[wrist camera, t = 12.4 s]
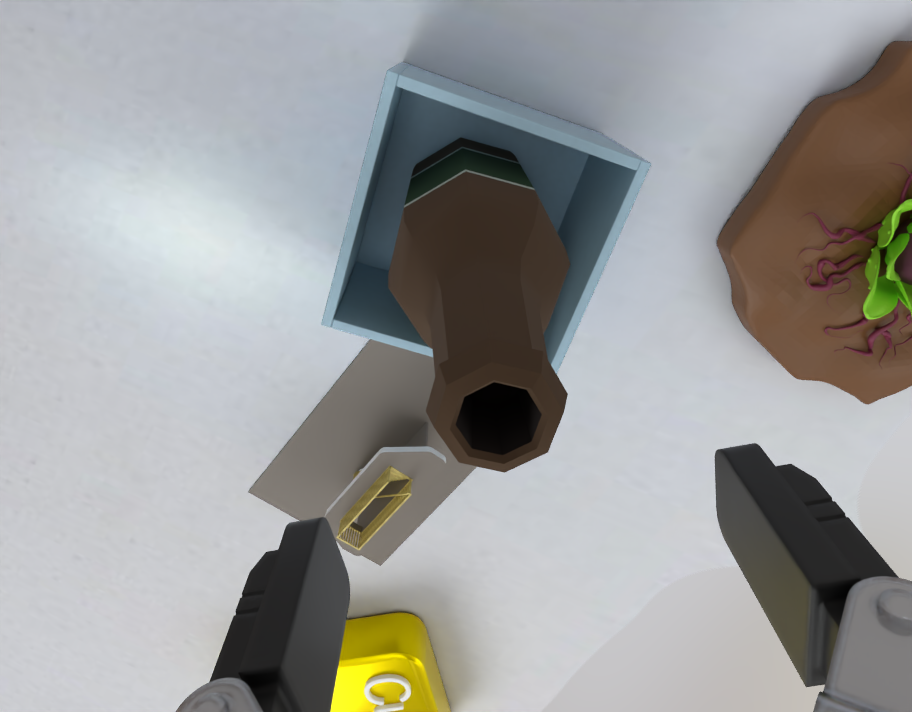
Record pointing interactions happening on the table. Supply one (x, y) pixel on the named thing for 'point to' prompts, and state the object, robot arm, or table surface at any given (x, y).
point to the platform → (368, 455)
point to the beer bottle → (482, 301)
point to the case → (544, 162)
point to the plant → (834, 238)
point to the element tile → (388, 667)
